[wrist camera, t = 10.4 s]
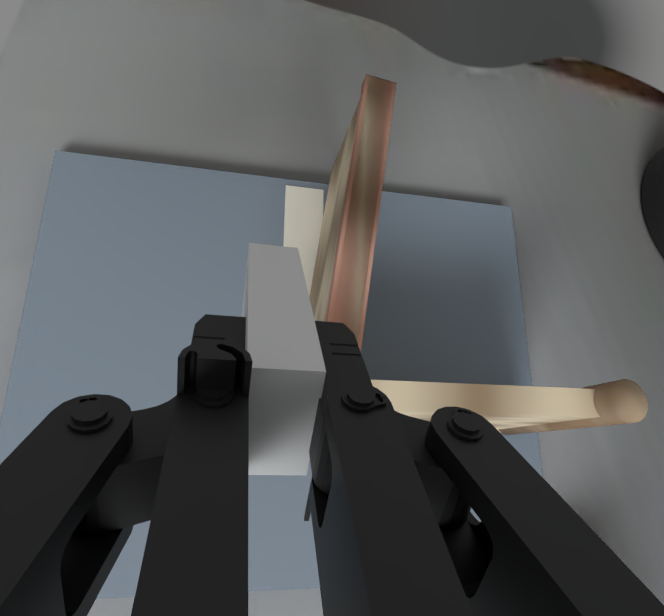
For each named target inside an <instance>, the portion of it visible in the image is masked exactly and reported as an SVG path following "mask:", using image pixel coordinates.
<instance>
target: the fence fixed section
mask: <svg viewBox="0 0 664 616" xmlns="http://www.w3.org/2000/svg"><path fill="white" fill-rule="evenodd" d="M371 383H372V385H373V387H375V388H378V389H379V390H380V391H382V392H383V393H384V394H386V395H387V397H388V398H389V400H390V401H391V403H392V406H393V408H394V410H395V411H397V412H399V413H401V414H404V415H407V416H410V417H414V418H418V419H422V420H426V421H430V420H431V417H432V415H433V414H434V412H435V411H436V410H437V409H440V408H443V407H461V408H465V409H468V410H471V411H473V412H475V413H477V414H479V415H481V416H483V417H484V418H485V419H486V420H488V421H489V422H490V423H491V424H492V425H493V426H494V427H495V428H496V429H497V430H499V431H500V432H501V433H502V434H504V435H514V434H524V433H534V432H544V431H555V430H565V429H575V428H585V427H595V426H605V425H615V424H625V423H636V422H639V421H641V420H642V419H643V418H644V417H645V415H646V413H647V410H648V402H647V398H646V395H645V393H644V391H643V390H642V389H641V387H640V386H639V385H638V384H636V383H635V382H633V381H631V380H627V379H622V380H617V381H613V382H608V383H603V384H598V385H593V386H589V387H584V388H558V387H534V386H510V385H487V384H463V383H439V382H415V381H391V380H371Z"/></svg>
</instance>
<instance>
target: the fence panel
mask: <svg viewBox="0 0 664 616" xmlns="http://www.w3.org/2000/svg"><path fill="white" fill-rule="evenodd" d="M395 89H396V83H395V82H391V81H388V80H385V79H381V78H378V77H374V76H371V75H368V74H366V76H365V79H364V82H363V84H362V90H361V96H360V100H359V103H358V105H357V108H356V110H355V113H354V116H353V118H352V121H351V123H350V126H349V128H348V131H347V133H346V136H345V138H344V141H343V144H342V146H341V149H340V151H339V154H338V156H337V159H336V161H335V164H334V166H333V169H332V172H331V176H330V181H329V187H328V193H327V199H326V204H325V210H324V216H323V222H322V227H321V233H320V239H319V245H318V250H317V256H316V262H315V268H314V273H313V279H312V285H311V291H310V296H309V298H310V303H311V307H312V311H313V316H314V320H315V321H325V322H339V323H344V324H345V325H346V326H347V327H348V328H349V329H350V330H351V331H352V332H353V333H354V334H355V337H356V340H357V343H358V347H359V349H360V351H361V346H362V338H363V331H364V323H365V316H366V308H367V301H368V293H369V285H370V278H371V270H372V263H373V255H374V248H375V240H376V232H377V225H378V217H379V210H380V202H381V195H382V187H383V180H384V172H385V164H386V157H387V149H388V142H389V134H390V127H391V119H392V111H393V104H394V96H395Z"/></svg>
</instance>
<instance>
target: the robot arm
mask: <svg viewBox="0 0 664 616" xmlns="http://www.w3.org/2000/svg"><path fill="white" fill-rule="evenodd" d="M642 205H643V211H644V215H645V219H646V223H647V226H648V228H649V231H650V233H651V236H652V238H653V240H654V242H655V244H656V246H657V247H658V249H659V251H660V253H661V254H662V256H663V257H664V148H663V149H662V150H660V151H659V152H658V153H657V154H656V155H655V156H654V157H653V159H652V160H651V161H650V163H649V165H648V167H647V169H646V171H645V174H644V178H643V184H642ZM309 460H310V463H311V470H312V478H311V483H310V488H309V493H308V498H307V504H306V509H305V515H304V521H309V518H310V513H311V518H312V526H313V534H314V542H315V550H316V558H317V566H318V575H319V583H320V591H321V599H322V607H323V615H324V616H664V605H663V604H662V603H661V602H660V601H659V600H658V599H657V598H656V597H655V596H654V595H653V594H652V592H651V591H650V590H649V589H648V588H647V587H646V586H645V585H644V584H643V583H642V582H641V581H640V580H639V579H638V578H637V577H636V576H635V575H634V573H633V572H632V571H631V570H630V569H629V568H628V567H627V566H626V565H625V564H624V563H623V562H622V561H621V560H620V559H619V558H618V557H617V556H616V555H615V553H614V552H613V551H612V550H611V549H610V548H609V547H608V546H607V545H606V544H605V543H604V542H603V541H602V540H601V539H600V538H599V537H598V536H597V534H596V533H595V532H594V531H593V530H592V529H591V528H590V527H589V526H588V525H587V524H586V523H585V522H584V521H583V520H582V519H581V518H580V517H579V515H578V514H577V513H576V512H575V511H574V510H573V509H572V508H571V507H570V506H569V505H568V504H567V503H566V502H565V501H564V500H563V499H562V498H561V497H560V495H559V494H558V493H557V492H556V491H555V490H554V489H553V488H552V487H551V486H550V485H549V484H548V483H547V482H546V481H545V480H544V479H543V478H542V476H541V475H540V474H539V473H538V472H537V471H536V470H535V469H534V468H533V467H532V466H531V465H530V464H529V463H528V462H527V461H526V460H525V459H524V457H523V456H522V455H521V454H520V453H519V452H518V451H517V450H516V449H515V448H514V447H513V446H512V445H511V444H510V443H509V442H508V441H507V440H506V439H505V437H504V436H503V435H502V434H501V433H500V432H499V431H498V430H497V429H496V428H495V427H494V426H493V425H492V424H491V423H490V422H489V421H488V420H486V419H485V418H484V417H483V416H481V415H479V414H477V413H475V412H473V411H471V410H468V409H465V408H461V407H443V408H440V409H437V410H436V411H435V412H434V414H433V415H432V417H431V420H430V421H426V420H422V419H418V418H414V417H410V416H407V415H404V414H401V413H399V412H397V411H395V410H394V408H393V406H392V403H391V401H390V400H389V398H388V397H387V395H386V394H384V393H383V392H382V391H380V390H379V389H378V388H375V387H373V385H372V383H371V380H370V377H369V374H368V371H367V368H366V366H365V363H364V360H363V357H361V351H360V349H359V347H358V343H357V340H356V337H355V334H354V333H353V332H352V331H351V330H350V329H349V328H348V327H347V326H346V325H345V324H344V323H339V322H325V321H315V320H314V316H313V311H312V307H311V303H310V298H309V294H308V290H307V285H306V281H305V276H304V272H303V268H302V263H301V259H300V254H299V250H298V248H294V247H284V246H275V245H265V244H255V243H249V246H248V257H247V268H246V279H245V290H244V300H243V311H242V317H237V316H224V315H210V314H205V315H204V316H203V317H202V318H201V319H200V320H199V321H198V322H197V323H195V327H194V332H193V338H192V342H191V345H189V346H188V347H186V348H184V349H183V350H182V351H181V353H180V354H179V356H178V368H177V395H176V396H175V397H173V398H172V399H170V400H169V401H168V402H165V403H163V404H161V405H158V406H155V407H151V408H147V409H142V410H136V411H131V408H130V406H129V405H128V404H127V403H126V402H124V401H123V400H122V399H120V398H117V397H114V396H111V395H103V394H91V395H85V396H78V397H76V398H73V399H70V400H68V401H65V402H63V403H62V404H60V405H59V406H58V407H56V408H55V409H54V410H52V411H51V412H50V413H49V414H48V415H47V416H46V417H45V418H44V419H43V420H42V421H41V422H40V424H39V425H38V426H37V427H36V428H35V429H34V430H33V431H32V432H31V433H30V434H29V435H28V436H27V437H26V438H25V439H24V440H23V441H22V442H21V443H20V444H19V445H18V446H17V447H16V448H15V450H14V451H13V452H12V453H11V454H10V455H9V456H8V457H7V458H6V459H5V460H4V461H3V462H2V463H1V464H0V616H87V614H88V613H89V611H90V609H91V607H92V605H93V603H94V601H95V600H96V598H97V596H98V594H99V592H100V590H101V588H102V587H103V585H104V583H105V581H106V579H107V577H108V575H109V574H110V572H111V570H112V568H113V566H114V564H115V562H116V561H117V559H118V557H119V555H120V553H121V551H122V549H123V548H124V546H125V544H126V542H127V540H128V538H129V536H130V535H131V533H132V529H133V526H134V525H136V524H139V523H143V522H147V521H150V520H151V521H150V526H149V531H148V536H147V541H146V546H145V550H144V555H143V560H142V565H141V570H140V575H139V579H138V584H137V589H136V594H135V599H134V603H133V608H132V613H131V616H248V475H301V476H307V470H308V465H309ZM471 508H472V509H473V510H474V512H475V513H476V514H477V516H478V517H479V519H480V520H481V522H479V521H478V520H477V519H476V518H475V517H474V516H473V514H472V513H471V512H470V510H471Z"/></svg>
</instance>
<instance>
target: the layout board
mask: <svg viewBox="0 0 664 616" xmlns="http://www.w3.org/2000/svg"><path fill="white" fill-rule="evenodd" d="M328 187H329V184H322V183H314V182H306V181H298V180H290V179H282V178H274V177H266V176H258V175H250V174H242V173H233V172H225V171H217V170H209V169H201V168H193V167H185V166H177V165H169V164H161V163H153V162H145V161H137V160H128V159H120V158H112V157H104V156H96V155H88V154H80V153H72V152H64V151H56V150H55V155H54V160H53V165H52V170H51V174H50V179H49V184H48V189H47V194H46V199H45V204H44V209H43V214H42V219H41V224H40V229H39V234H38V239H37V244H36V249H35V254H34V259H33V264H32V269H31V274H30V278H29V283H28V288H27V293H26V298H25V303H24V308H23V313H22V318H21V323H20V328H19V333H18V338H17V343H16V348H15V353H14V358H13V363H12V368H11V373H10V378H9V383H8V387H7V392H6V397H5V402H4V407H3V412H2V417H1V422H0V464H1V463H2V462H3V461H4V460H5V459H6V458H7V457H8V456H9V455H10V454H11V453H12V452H13V451H14V450H15V448H16V447H17V446H18V445H19V444H20V443H21V442H22V441H23V440H24V439H25V438H26V437H27V436H28V435H29V434H30V433H31V432H32V431H33V430H34V429H35V428H36V427H37V426H38V425H39V424H40V422H41V421H42V420H43V419H44V418H45V417H46V416H47V415H48V414H49V413H50V412H51V411H52V410H54V409H55V408H56V407H58V406H59V405H60V404H62V403H63V402H65V401H68V400H70V399H73V398H76V397H78V396H85V395H91V394H103V395H111V396H114V397H117V398H120V399H122V400H123V401H124V402H126V403H127V404H128V405H129V406H130V408H131V411H136V410H142V409H147V408H151V407H155V406H158V405H161V404H163V403H165V402H168V401H169V400H170V399H172V398H173V397H175V396H176V395H177V368H178V356H179V354H180V353H181V351H182V350H183V349H184V348H186V347H188V346H189V345H191V342H192V338H193V332H194V327H195V323H197V322H198V321H199V320H200V319H201V318H202V317H203V316H204V315H205V314H210V315H224V316H237V317H242V311H243V300H244V290H245V279H246V268H247V257H248V246H249V243H255V244H265V245H275V246H284V247H294V248H298V250H299V254H300V259H301V263H302V268H303V272H304V276H305V281H306V285H307V290H308V294H309V296H310V291H311V285H312V279H313V273H314V268H315V262H316V256H317V250H318V245H319V239H320V233H321V227H322V222H323V216H324V210H325V204H326V199H327V193H328ZM361 357H363V360H364V363H365V366H366V368H367V371H368V374H369V377H370V380H391V381H415V382H439V383H463V384H487V385H510V386H532V383H531V374H530V366H529V357H528V348H527V340H526V331H525V323H524V314H523V305H522V297H521V288H520V280H519V271H518V262H517V254H516V245H515V237H514V228H513V219H512V211H511V207H508V206H500V205H492V204H484V203H476V202H468V201H460V200H451V199H443V198H435V197H427V196H419V195H411V194H403V193H395V192H387V191H382V195H381V202H380V210H379V217H378V225H377V232H376V240H375V248H374V255H373V263H372V270H371V278H370V285H369V293H368V301H367V308H366V316H365V323H364V331H363V338H362V346H361ZM498 431H499V430H498ZM499 432H500V431H499ZM500 433H501V432H500ZM501 434H502V433H501ZM502 435H503V436H504V437H505V439H506V440H507V441H508V442H509V443H510V444H511V445H512V446H513V447H514V448H515V449H516V450H517V451H518V452H519V453H520V454H521V455H522V456H523V457H524V459H525V460H526V461H527V462H528V463H529V464H530V465H531V466H532V467H533V468H534V469H535V470H536V471H537V472H538V473H539V474H540V475H541V476H542V469H541V460H540V452H539V443H538V434H537V432H534V433H524V434H514V435H504V434H502ZM311 478H312V470H311V463H310V460H309V465H308V470H307V476H301V475H248V591H266V590H287V589H309V588H320V583H319V575H318V566H317V558H316V550H315V542H314V534H313V526H312V518H311V513H310V518H309V521H304V515H305V509H306V504H307V498H308V493H309V488H310V483H311ZM542 478H543V477H542ZM470 512H471V513H472V514H473V516H474V517H475V518H476V519H477V520H478V521H479V522H481V520H480V519H479V517H478V516H477V514H476V513H475V512H474V510H473V509H472V508H471V510H470ZM150 521H151V520H150ZM150 521H147V522H143V523H139V524H136V525H134V526H133V529H132V533H131V535H130V536H129V538H128V540H127V542H126V544H125V546H124V548H123V549H122V551H121V553H120V555H119V557H118V559H117V561H116V562H115V564H114V566H113V568H112V570H111V572H110V574H109V575H108V577H107V579H106V581H105V583H104V585H103V587H102V588H101V590H100V592H99V594H98V596H97V598H116V597H135V594H136V589H137V584H138V579H139V575H140V570H141V565H142V560H143V555H144V550H145V546H146V541H147V536H148V531H149V526H150Z"/></svg>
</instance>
